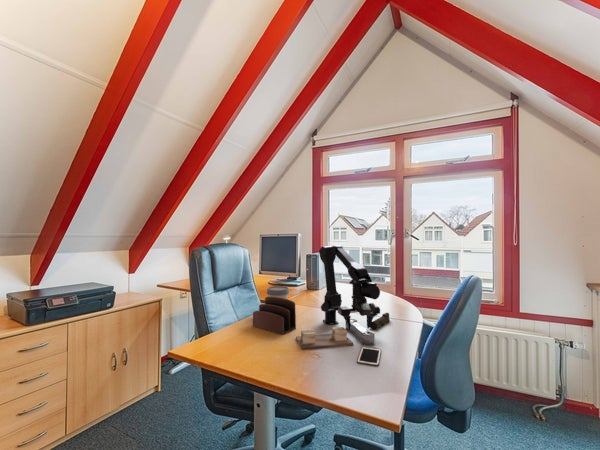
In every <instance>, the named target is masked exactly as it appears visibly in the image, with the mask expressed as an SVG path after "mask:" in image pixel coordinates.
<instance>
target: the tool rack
mask: <svg viewBox="0 0 600 450" xmlns="http://www.w3.org/2000/svg"><path fill="white" fill-rule="evenodd" d="M295 340H296V342H297V344H298V346H299V347H300V350H301V351H306V350H307V351H308V350H317V349H328V348H339V347H350V346H351V347H352V346H354V343H353V341H352V340H351V339H350V338H349V337H348V330H346V328H344V326H337V327H331V333H325V334H316V332H315V330H314V329H312V328H311V329H310V328H309V329H300V335H298V336H297V335H296V336H295Z"/></svg>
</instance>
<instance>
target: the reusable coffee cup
mask: <svg viewBox="0 0 600 450" xmlns="http://www.w3.org/2000/svg"><path fill="white" fill-rule="evenodd" d="M289 293H290V290H289V287H287V286H284V285H282V286H281V285H276V286H275V285H272V286H269V287H267V288H266V295H267V297H278V298H283V299H287V300H289Z"/></svg>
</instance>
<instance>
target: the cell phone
mask: <svg viewBox="0 0 600 450" xmlns="http://www.w3.org/2000/svg"><path fill="white" fill-rule="evenodd" d="M381 355H382V349H381V348H376V347H372V346H361V348H360V351H359V354H358V357H357V361H356V363H357V364H358V365H364V366H370V367H375V368H376V367H379V366H380V361H381Z"/></svg>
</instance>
